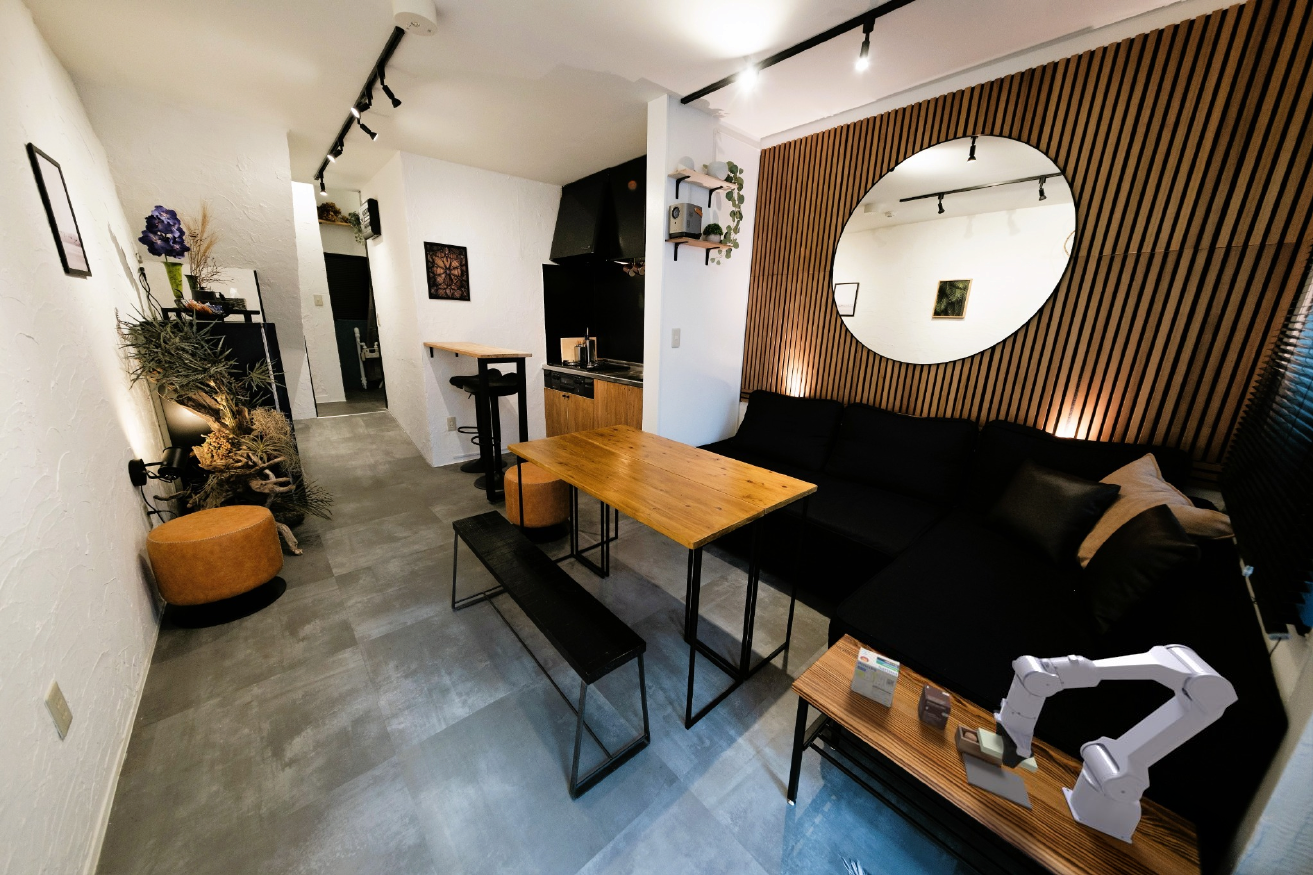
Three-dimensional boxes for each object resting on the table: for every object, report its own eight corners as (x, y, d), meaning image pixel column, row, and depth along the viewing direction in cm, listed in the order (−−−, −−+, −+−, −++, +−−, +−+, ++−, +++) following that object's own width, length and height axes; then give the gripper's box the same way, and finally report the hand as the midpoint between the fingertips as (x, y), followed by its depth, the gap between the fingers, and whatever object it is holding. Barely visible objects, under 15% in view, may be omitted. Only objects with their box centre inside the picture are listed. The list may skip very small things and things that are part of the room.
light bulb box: (892, 692, 127) (900, 662, 124) (890, 708, 121) (899, 677, 118) (853, 675, 132) (860, 645, 129) (849, 690, 127) (856, 659, 124)
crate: (996, 752, 111) (1000, 740, 110) (1000, 767, 107) (1005, 755, 106) (954, 736, 114) (958, 724, 113) (957, 750, 110) (961, 738, 109)
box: (918, 720, 118) (925, 698, 116) (917, 703, 124) (923, 682, 122) (944, 730, 116) (952, 708, 114) (942, 713, 121) (949, 692, 119)
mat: (1021, 777, 105) (1021, 776, 105) (1031, 809, 98) (1032, 808, 98) (962, 754, 110) (962, 752, 109) (968, 782, 103) (968, 781, 102)
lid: (1028, 752, 102) (1030, 747, 101) (1035, 772, 97) (1037, 767, 96) (976, 732, 106) (978, 727, 105) (981, 751, 101) (983, 746, 101)
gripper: (992, 678, 106) (977, 722, 109) (1008, 724, 93) (990, 773, 97) (1028, 690, 103) (1012, 735, 107) (1050, 740, 90) (1030, 789, 94)
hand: (1004, 754), depth 102 cm, fingers closed on lid, 5 cm apart
